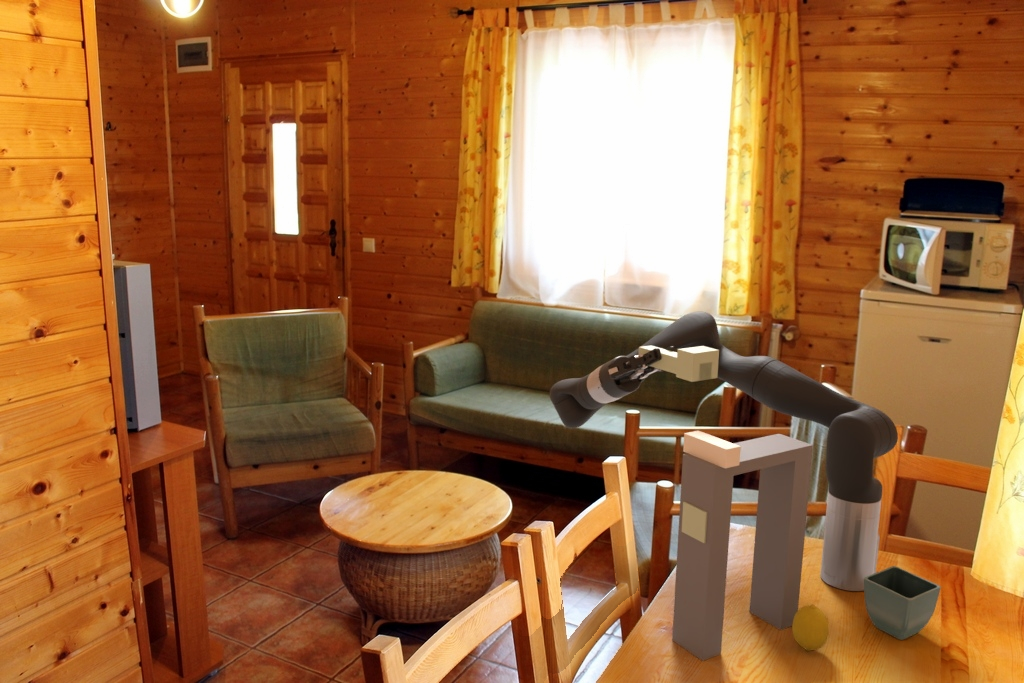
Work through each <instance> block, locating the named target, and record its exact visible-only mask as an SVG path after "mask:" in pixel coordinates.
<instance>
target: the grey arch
mask: <svg viewBox="0 0 1024 683" xmlns="http://www.w3.org/2000/svg"><path fill="white" fill-rule="evenodd" d="M733 444H736V445H739V446H741V449H740V463H739V465H738V466H734V467H730V468H722V467H720V466H718V465H715V464H713V463H710V462H708V461H705V460H703V459H700V458H698V457H696V456H693V455H691V454H688V453H686V452H685V453H683V454H682V466H681V481H680V482H681V483H680V499H679V500H680V501H679V515H678V516H679V517H678V529H677V530H678V534H677V551H676V567H675V568H676V569H675V587H674V602H673V617H672V618H673V620H672V621H673V622H672V633H671V635H672V637H671V638H672V639H671V641H673V642H675V643H676V644H678V645H679V646H680V647H682V648H683V649H685V650H686V651H687V652H689V653H690V654H692V655H693V656H695V657H696V658H698V659H699V660H701V661H702V662H704V661H707V660H708V659H711V658H714V657H716V656H719V655H722V654H721V653H722V646H723V645H722V644H723V642H722V641H723V629H724V615H725V600H726V599H725V598H726V588H727V587H726V586H727V571H728V557H729V546H730V545H729V543H730V529H731V517H732V516H731V514H732V503H733V502H732V500H733V488H734V476H738V475H741V474H746V473H750V472H755V471H759V470H760V471H759V481H758V496H757V504H756V505H757V507H756V518H755V532H754V543H753V544H754V546H753V559H752V572H751V573H752V574H751V582H750V583H751V585H750V597H749V598H750V599H749V607H748V608H749V609H748V611H749V613H751V614H752V615H754V616H756V617H758V618H759V619H761V620H762V621H765V622H766V623H768V624H769V625H771V626H772V627H775V628H776V629H778V630H780V631H782V630H784V629H787V628H790V627H792V625H793V619H794V616H795V614H796V612H797V611H798V610H799V602H800V592H801V591H800V590H801V582H802V571H803V557H804V550H805V549H804V548H805V537H806V526H807V515H808V505H809V504H808V502H809V493H810V481H811V470H812V469H811V468H812V461H813V460H812V458H813V448H814V445H813V444H811V443H808V442H805V441H803V440H800V439H797V438H793V437H791V436H788V435H784V434H781V433H776V434H769V435H766V436H762V437H756V438H752V439H747V440H744V441H738V442H733Z"/></svg>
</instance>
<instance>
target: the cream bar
mask: <svg viewBox="0 0 1024 683" xmlns="http://www.w3.org/2000/svg"><path fill="white" fill-rule="evenodd" d="M733 443H734V442H733ZM733 443H732V442H730V441H727V440H724V439H722V438H719V437H717V436H714V435H713V434H712V435H711V434H709V433H707V432H706V433H705V432H703V431H701V430H694V431H689V432H684V433H683V451H682V452H684V453H685V454H686V453H688V454H691V455H693V456H696V457H698V458H700V459H703V460H705V461H708V462H710V463H713V464H715V465H718V466H720V467H722V468H730V467H734V466H738V465H739V463H740V449H741V446H739V445H736V444H733Z"/></svg>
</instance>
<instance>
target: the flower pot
mask: <svg viewBox="0 0 1024 683" xmlns="http://www.w3.org/2000/svg"><path fill="white" fill-rule="evenodd" d="M941 589H942V586H941V585H939V584H937V583H935V582H932V581H930V580H928V579H926V578H923V577H921V576H919V575H916V574H914V573H912V572H909V571H908V570H906V569H903V568H901V567H899V566H896V565H893V566H890V567H887V568H884V569H882V570H880V571H878V572H877V571H876V573H874V574H872V575H869V576H866V577H865V578H864V590H863V592H864V604H865V609H866V612H867V615H868V617H869V619H870V621H871V622H872V624H873V626H874V627H875V628H877V629H878V630H880V631H882V632H884V633H886V634H889V635H890V636H892V637H894V638H895V639H898V640H900V641H904V640H906V639H907V638H910V637H911V636H914V635H916V634H918V633H919V632H921V630H923V628H925V626H926V625H927V624H928V623H929V622H930V620H931V619H932V616H933V615H934V614H935V613H934V612H935V609H936V606H937V602H938V600H939V595H940V593H941Z"/></svg>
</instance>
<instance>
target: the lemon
mask: <svg viewBox="0 0 1024 683" xmlns="http://www.w3.org/2000/svg"><path fill="white" fill-rule="evenodd" d="M791 628H792V629H791V630H792V635H793V637H794V640H795V641H796V642H797V644H798V645H799V646H801V648H803V649H805V650H806V651H808V652H811V651H812V650H813V651H815V650H818V649H821V648H822V647H823V646H824V645H825V644H826V643H827V640H828V638H829V634H830V624H829V620H828V617H827V615H826V613H825V612H824V611H823V609H821V608H820V607H818V606H816V605H815V604H808V605H807V604H806V605H803V606H802V607H799V608H798V611H797V612H796V614H795V616H794V619H793V625H792V626H791Z"/></svg>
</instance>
